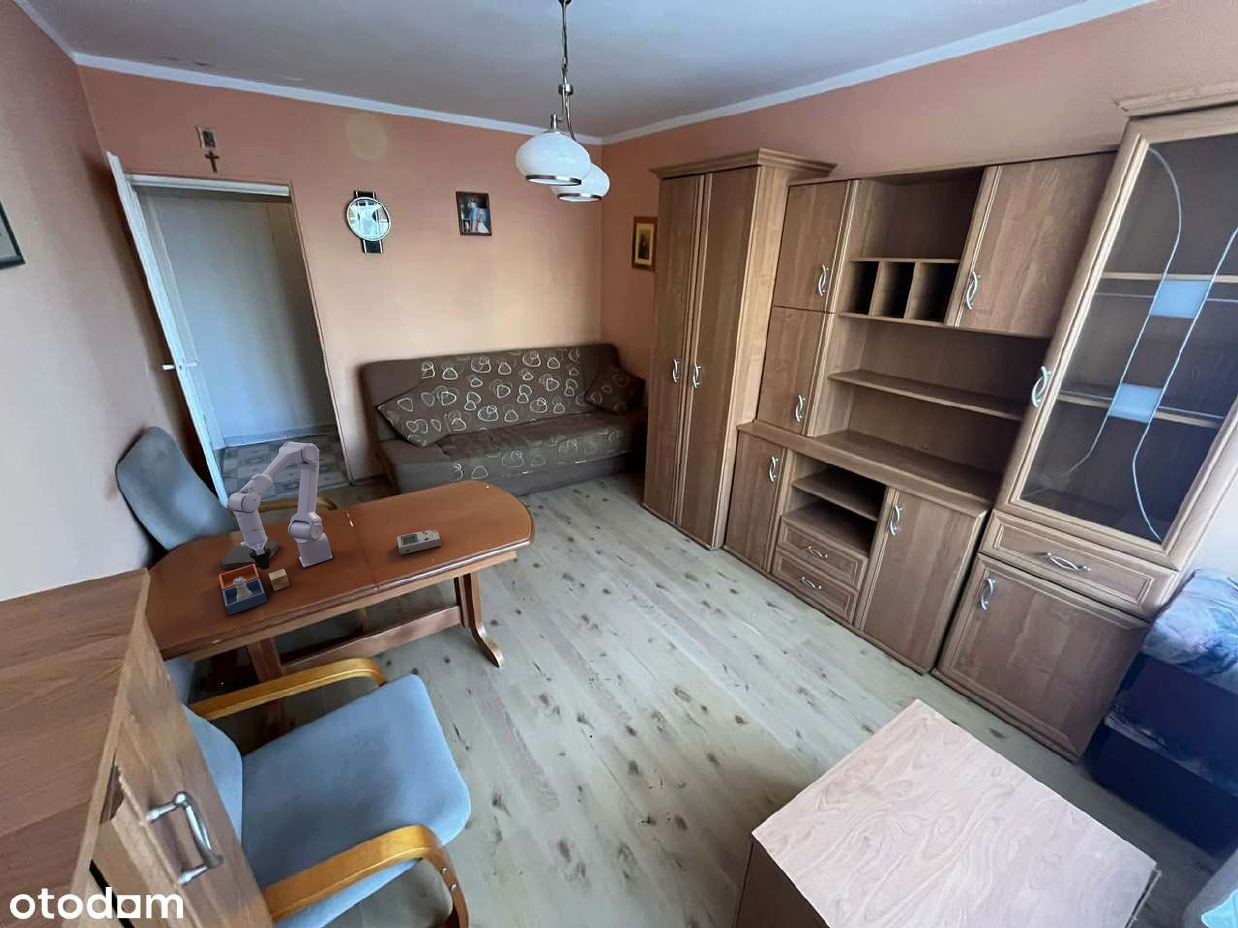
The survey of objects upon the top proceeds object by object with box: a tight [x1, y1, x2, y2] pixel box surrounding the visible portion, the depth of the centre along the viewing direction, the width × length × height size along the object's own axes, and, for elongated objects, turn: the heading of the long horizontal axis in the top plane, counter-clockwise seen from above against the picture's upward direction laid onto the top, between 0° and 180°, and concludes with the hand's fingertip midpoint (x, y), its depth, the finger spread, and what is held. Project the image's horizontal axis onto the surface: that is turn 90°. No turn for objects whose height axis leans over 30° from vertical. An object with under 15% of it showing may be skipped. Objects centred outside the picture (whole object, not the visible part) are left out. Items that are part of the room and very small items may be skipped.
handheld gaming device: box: [396, 529, 442, 555], centre depth 193 cm, size 9×15×4 cm, turn 116°
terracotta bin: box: [218, 564, 260, 591], centre depth 170 cm, size 10×10×4 cm
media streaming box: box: [221, 539, 279, 570], centre depth 185 cm, size 15×15×3 cm
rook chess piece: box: [233, 577, 254, 601], centre depth 161 cm, size 4×4×8 cm
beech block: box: [268, 568, 291, 592], centre depth 169 cm, size 4×4×4 cm
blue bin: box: [221, 577, 269, 616], centre depth 162 cm, size 10×10×4 cm
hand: (263, 563), depth 164 cm, fingers open, 7 cm apart
